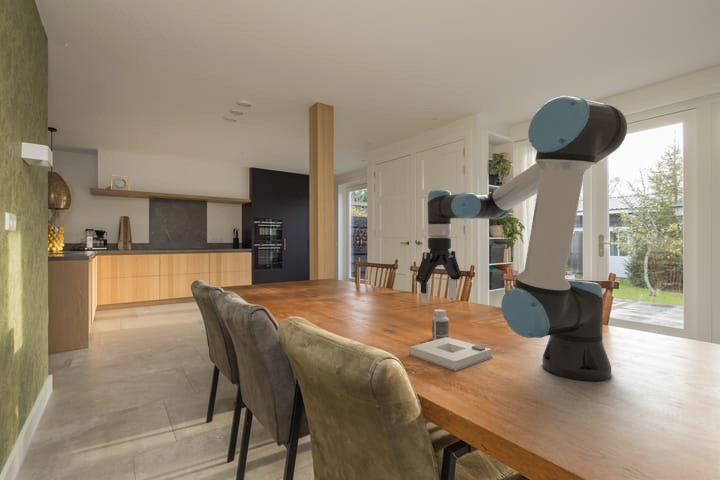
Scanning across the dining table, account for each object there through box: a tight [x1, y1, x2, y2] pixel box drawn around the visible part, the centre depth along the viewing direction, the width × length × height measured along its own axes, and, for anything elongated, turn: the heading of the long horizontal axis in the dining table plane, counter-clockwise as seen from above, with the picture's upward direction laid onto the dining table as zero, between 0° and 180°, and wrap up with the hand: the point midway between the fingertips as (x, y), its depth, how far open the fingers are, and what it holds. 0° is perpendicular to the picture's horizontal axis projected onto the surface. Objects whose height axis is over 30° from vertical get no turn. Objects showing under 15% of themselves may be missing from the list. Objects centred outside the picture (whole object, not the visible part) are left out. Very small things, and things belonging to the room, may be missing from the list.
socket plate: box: [408, 337, 493, 372], centre depth 105 cm, size 17×17×3 cm
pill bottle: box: [431, 308, 450, 341], centre depth 122 cm, size 5×5×10 cm
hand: (439, 300), depth 122 cm, fingers open, 13 cm apart
